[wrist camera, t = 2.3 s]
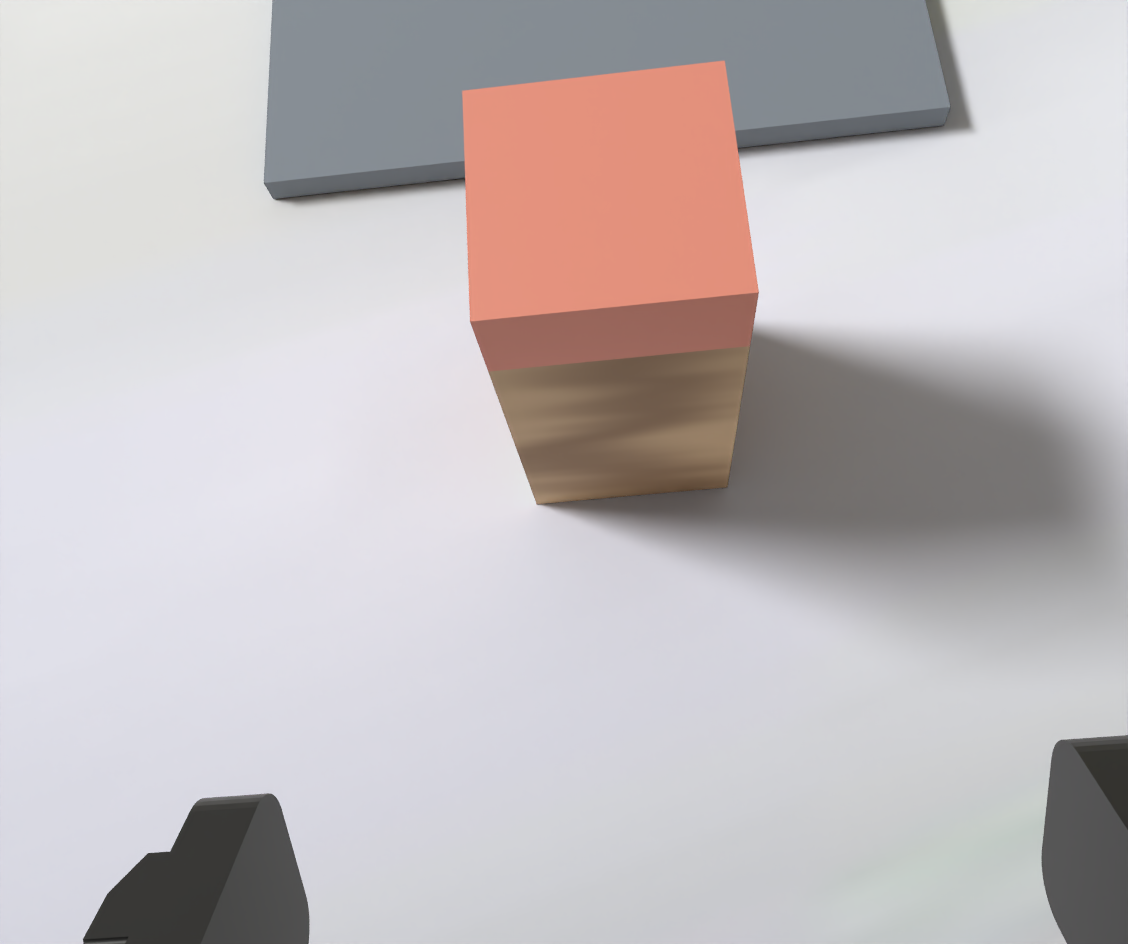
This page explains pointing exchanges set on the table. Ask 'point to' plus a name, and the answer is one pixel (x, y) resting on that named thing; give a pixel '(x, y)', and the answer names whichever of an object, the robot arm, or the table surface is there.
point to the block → (612, 276)
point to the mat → (573, 73)
